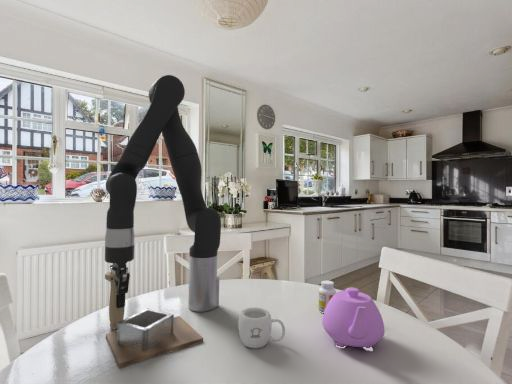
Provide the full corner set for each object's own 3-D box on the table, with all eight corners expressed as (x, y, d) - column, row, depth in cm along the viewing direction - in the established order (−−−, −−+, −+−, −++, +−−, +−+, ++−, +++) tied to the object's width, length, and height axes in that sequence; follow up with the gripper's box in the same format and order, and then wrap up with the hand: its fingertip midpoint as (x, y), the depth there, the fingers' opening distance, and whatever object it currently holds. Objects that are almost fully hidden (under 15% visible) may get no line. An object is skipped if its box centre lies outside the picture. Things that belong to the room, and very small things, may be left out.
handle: (122, 331, 80) (123, 276, 80) (100, 330, 81) (101, 275, 81) (131, 324, 85) (132, 271, 85) (111, 322, 85) (112, 270, 86)
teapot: (398, 371, 65) (399, 308, 65) (325, 363, 67) (326, 303, 67) (373, 326, 86) (374, 279, 86) (319, 321, 89) (320, 276, 89)
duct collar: (147, 326, 81) (147, 308, 81) (173, 333, 78) (173, 314, 78) (117, 343, 72) (117, 322, 72) (144, 351, 69) (145, 330, 69)
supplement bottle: (335, 309, 98) (336, 280, 98) (335, 316, 93) (336, 285, 93) (318, 307, 100) (319, 279, 100) (318, 314, 94) (318, 283, 94)
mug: (236, 351, 71) (236, 319, 71) (239, 334, 80) (240, 305, 80) (285, 353, 71) (286, 321, 71) (284, 336, 79) (284, 307, 79)
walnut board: (179, 319, 88) (179, 315, 88) (203, 341, 76) (203, 337, 76) (105, 337, 77) (105, 333, 77) (118, 368, 64) (118, 363, 64)
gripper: (140, 246, 79) (139, 310, 79) (128, 239, 91) (127, 294, 91) (110, 249, 75) (108, 316, 75) (100, 241, 87) (99, 299, 87)
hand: (118, 304), depth 83 cm, fingers closed on handle, 4 cm apart
